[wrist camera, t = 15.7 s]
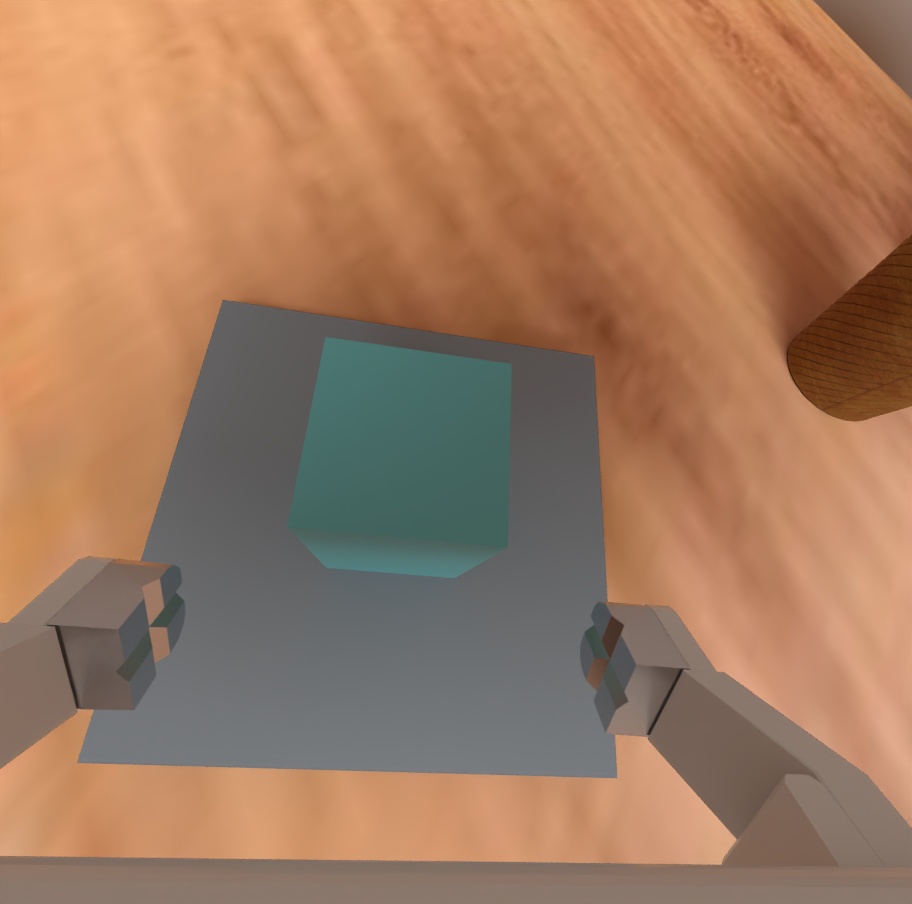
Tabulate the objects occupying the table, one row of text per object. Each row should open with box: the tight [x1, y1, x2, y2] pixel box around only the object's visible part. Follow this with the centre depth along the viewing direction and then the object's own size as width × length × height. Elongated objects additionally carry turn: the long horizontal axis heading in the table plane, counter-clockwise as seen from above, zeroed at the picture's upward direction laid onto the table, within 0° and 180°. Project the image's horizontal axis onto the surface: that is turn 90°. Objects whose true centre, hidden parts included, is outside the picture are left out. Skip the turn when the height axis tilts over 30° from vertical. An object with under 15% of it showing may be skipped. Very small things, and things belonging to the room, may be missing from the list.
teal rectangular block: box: [287, 337, 512, 578], centre depth 15 cm, size 5×5×8 cm
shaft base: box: [77, 300, 617, 778], centre depth 17 cm, size 18×18×6 cm
